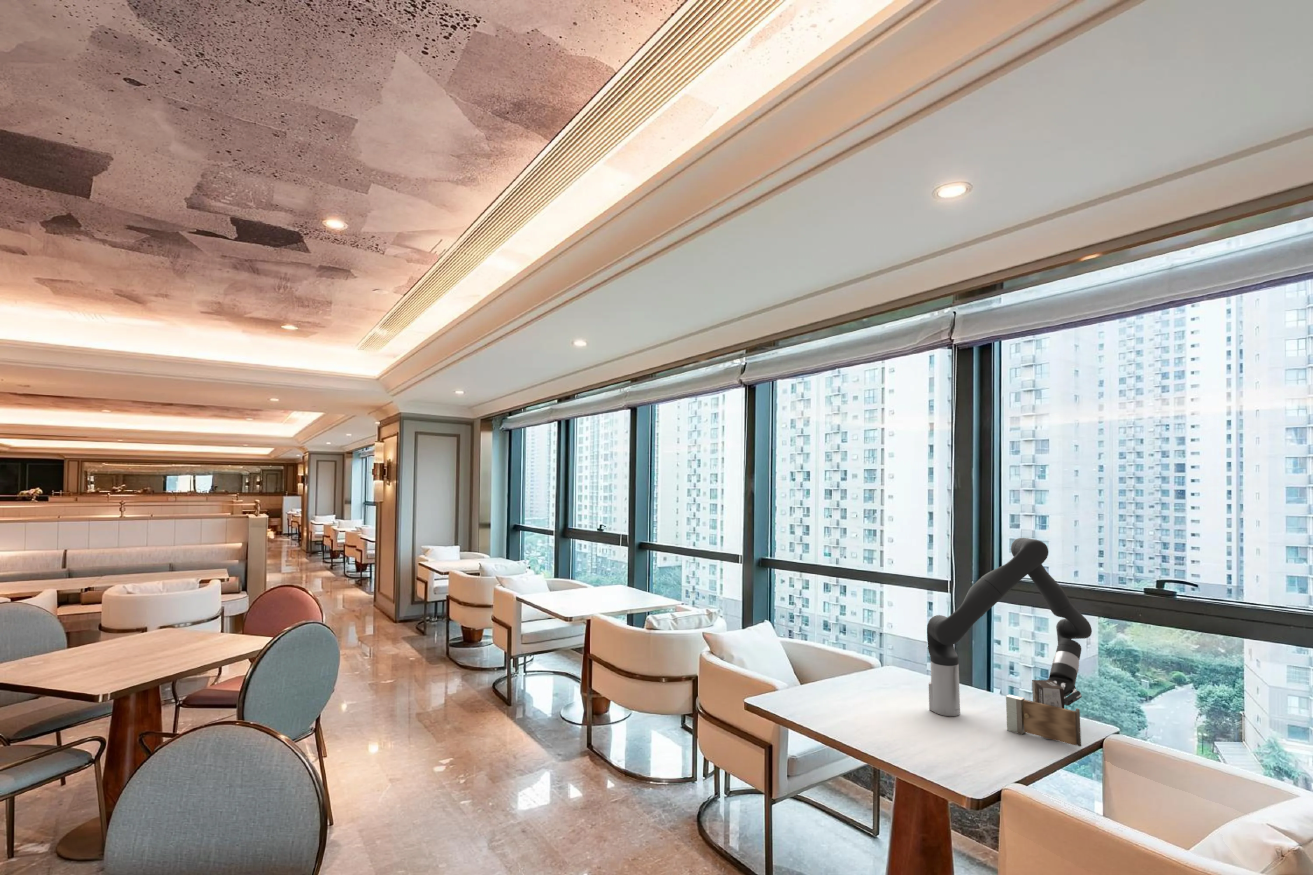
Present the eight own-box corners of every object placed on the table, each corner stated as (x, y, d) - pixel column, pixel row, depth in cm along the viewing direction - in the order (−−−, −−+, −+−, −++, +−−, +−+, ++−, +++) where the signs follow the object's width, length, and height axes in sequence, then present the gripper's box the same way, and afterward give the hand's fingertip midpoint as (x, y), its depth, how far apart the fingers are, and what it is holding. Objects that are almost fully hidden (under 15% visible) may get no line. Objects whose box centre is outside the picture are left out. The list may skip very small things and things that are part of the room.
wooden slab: (1023, 732, 204) (1021, 697, 204) (1025, 730, 205) (1024, 696, 206) (1079, 747, 192) (1077, 710, 193) (1081, 745, 194) (1080, 708, 195)
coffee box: (1066, 740, 200) (1064, 688, 201) (1044, 739, 201) (1042, 687, 202) (1054, 729, 209) (1052, 679, 210) (1033, 728, 210) (1031, 678, 211)
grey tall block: (1006, 730, 208) (1005, 696, 209) (1010, 728, 210) (1009, 694, 211) (1022, 734, 205) (1021, 699, 205) (1025, 732, 207) (1024, 697, 207)
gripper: (1040, 657, 222) (1029, 701, 213) (1084, 666, 212) (1074, 712, 203) (1046, 670, 225) (1035, 714, 216) (1089, 678, 215) (1080, 725, 206)
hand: (1054, 713), depth 209 cm, fingers closed
